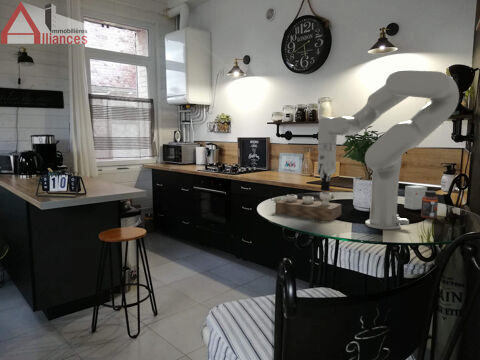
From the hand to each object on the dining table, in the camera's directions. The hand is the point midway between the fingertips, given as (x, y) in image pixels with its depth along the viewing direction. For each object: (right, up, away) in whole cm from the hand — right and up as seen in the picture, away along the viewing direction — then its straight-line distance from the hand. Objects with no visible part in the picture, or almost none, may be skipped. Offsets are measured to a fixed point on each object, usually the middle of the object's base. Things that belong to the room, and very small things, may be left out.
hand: (325, 190), depth 149 cm
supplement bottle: (+44, -12, -1) cm, 45 cm away
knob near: (0, -8, +1) cm, 8 cm away
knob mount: (-6, -11, +6) cm, 14 cm away
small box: (+47, -9, +18) cm, 52 cm away
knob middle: (-6, -10, +6) cm, 13 cm away
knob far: (-13, -9, +10) cm, 19 cm away
